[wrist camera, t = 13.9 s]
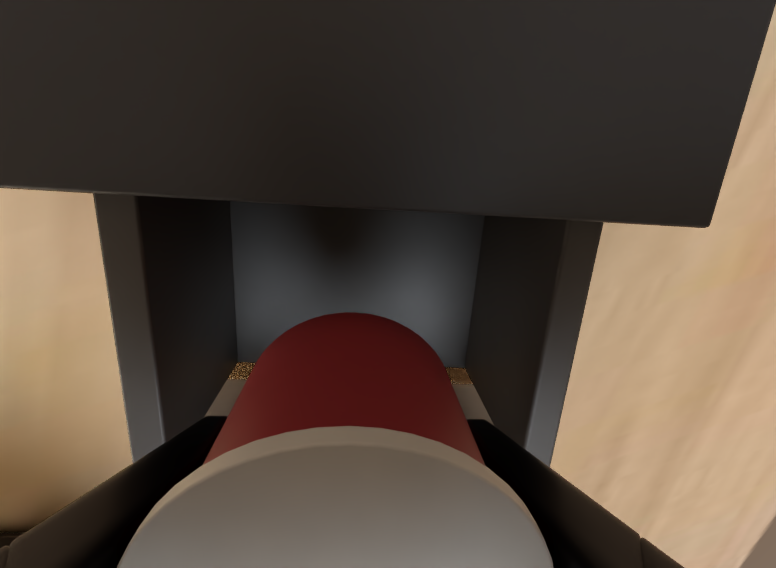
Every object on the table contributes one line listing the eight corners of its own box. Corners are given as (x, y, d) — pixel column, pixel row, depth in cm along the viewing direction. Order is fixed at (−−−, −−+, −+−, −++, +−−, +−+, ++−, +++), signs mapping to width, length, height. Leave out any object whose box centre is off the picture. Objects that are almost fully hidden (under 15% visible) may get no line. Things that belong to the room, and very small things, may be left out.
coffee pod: (451, 497, 10) (520, 753, 6) (237, 499, 10) (135, 775, 5) (477, 301, 8) (599, 445, 4) (225, 291, 8) (70, 441, 4)
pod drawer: (468, 513, 19) (526, 699, 12) (219, 514, 18) (138, 716, 11) (539, 56, 13) (711, -46, 7) (183, 24, 12) (-17, -131, 6)
